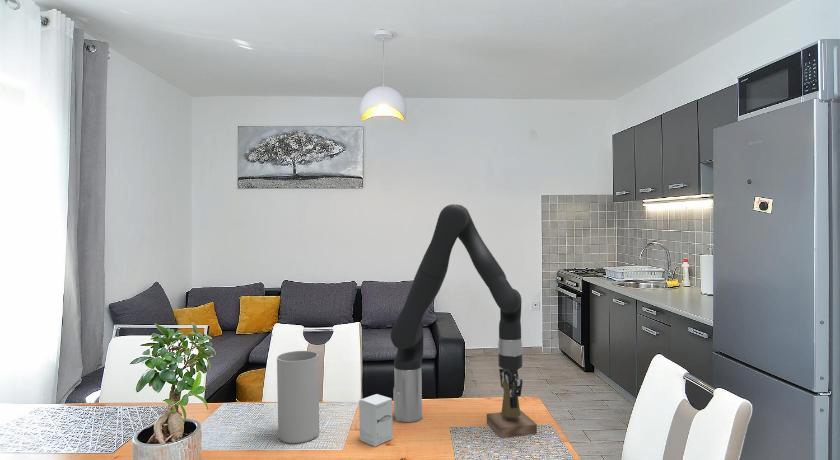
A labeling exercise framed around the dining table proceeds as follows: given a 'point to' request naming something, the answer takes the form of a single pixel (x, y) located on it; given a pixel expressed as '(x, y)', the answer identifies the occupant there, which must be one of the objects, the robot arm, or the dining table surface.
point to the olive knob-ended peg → (506, 403)
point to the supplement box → (375, 419)
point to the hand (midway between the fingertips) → (510, 405)
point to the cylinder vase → (298, 396)
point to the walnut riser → (511, 425)
